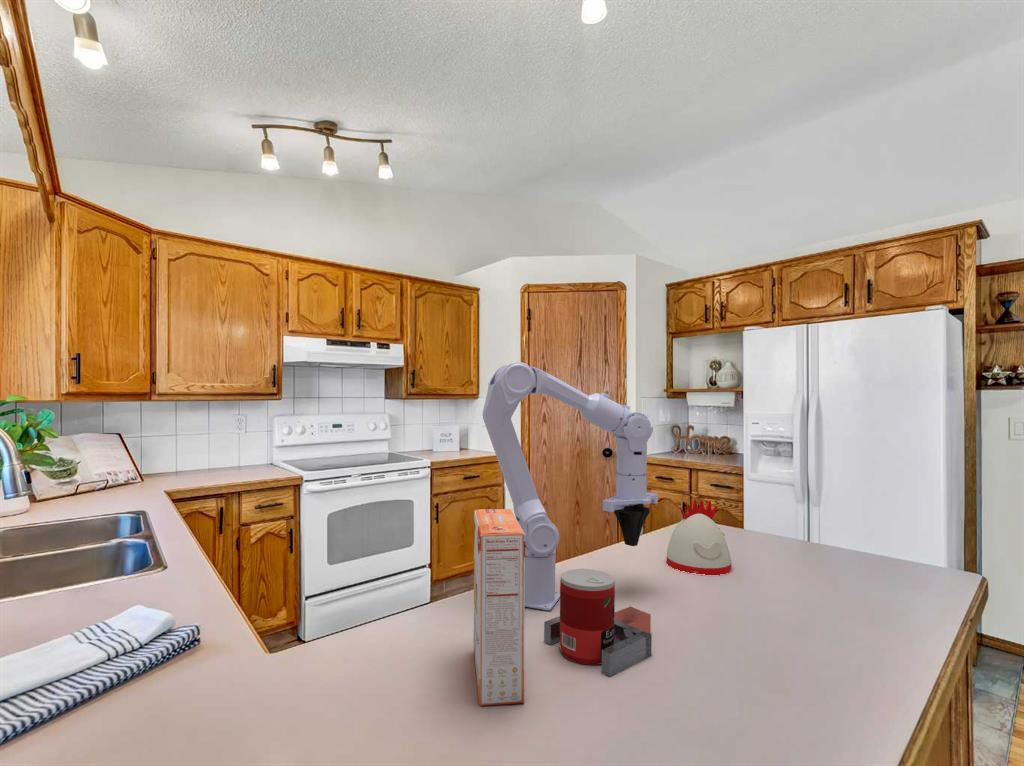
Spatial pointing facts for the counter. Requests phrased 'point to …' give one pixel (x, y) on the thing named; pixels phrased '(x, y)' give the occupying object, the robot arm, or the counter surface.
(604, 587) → the canned food
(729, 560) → the kitchen timer
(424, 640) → the counter surface
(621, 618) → the clamp
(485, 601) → the cracker box
